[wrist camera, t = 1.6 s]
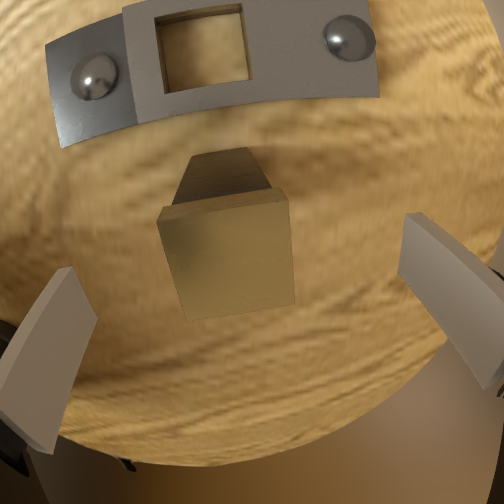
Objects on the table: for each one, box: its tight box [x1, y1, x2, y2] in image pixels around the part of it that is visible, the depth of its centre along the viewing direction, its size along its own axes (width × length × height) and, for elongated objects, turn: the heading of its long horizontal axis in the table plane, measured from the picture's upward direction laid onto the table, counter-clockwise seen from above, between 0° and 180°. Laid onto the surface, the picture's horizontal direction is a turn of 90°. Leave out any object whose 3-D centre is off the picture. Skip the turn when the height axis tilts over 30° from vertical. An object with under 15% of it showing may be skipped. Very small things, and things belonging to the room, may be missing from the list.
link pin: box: [157, 147, 295, 321], centre depth 17 cm, size 5×5×13 cm
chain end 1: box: [45, 8, 251, 148], centre depth 17 cm, size 16×9×2 cm, turn 97°
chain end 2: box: [122, 0, 380, 124], centre depth 16 cm, size 17×9×3 cm, turn 97°
